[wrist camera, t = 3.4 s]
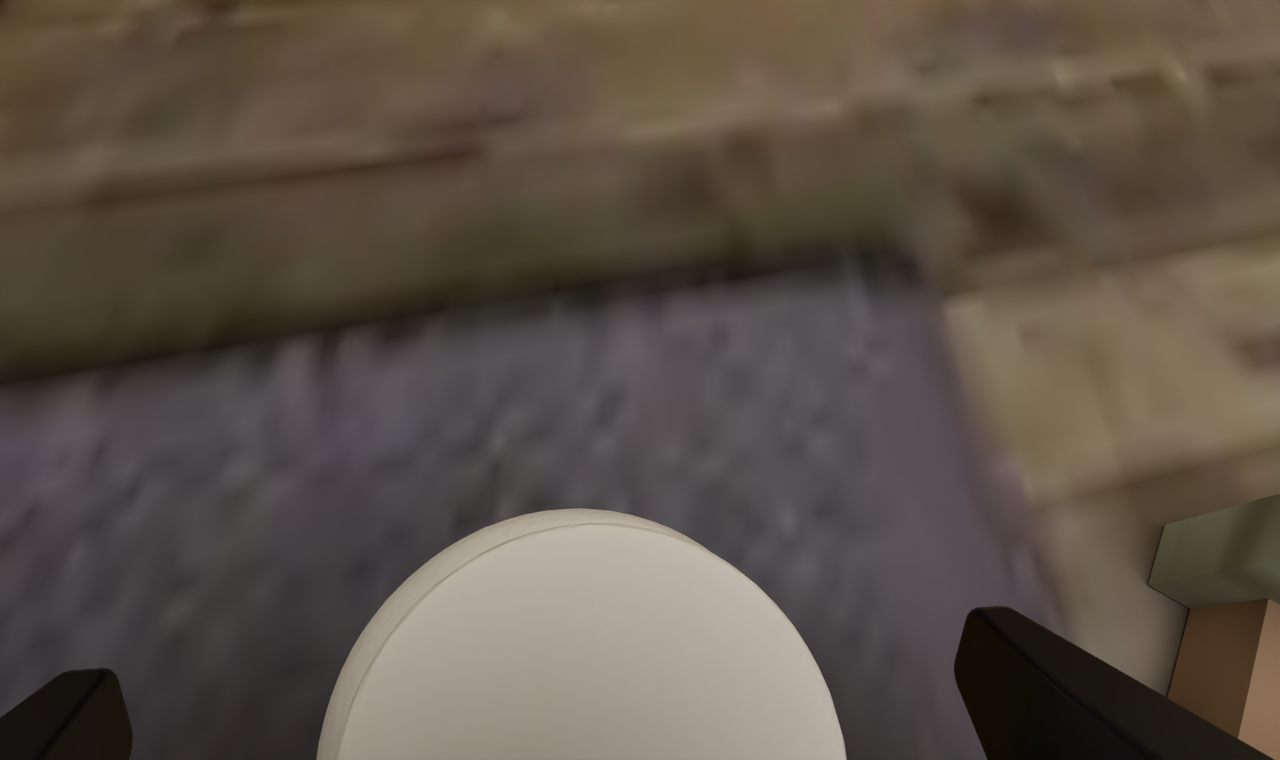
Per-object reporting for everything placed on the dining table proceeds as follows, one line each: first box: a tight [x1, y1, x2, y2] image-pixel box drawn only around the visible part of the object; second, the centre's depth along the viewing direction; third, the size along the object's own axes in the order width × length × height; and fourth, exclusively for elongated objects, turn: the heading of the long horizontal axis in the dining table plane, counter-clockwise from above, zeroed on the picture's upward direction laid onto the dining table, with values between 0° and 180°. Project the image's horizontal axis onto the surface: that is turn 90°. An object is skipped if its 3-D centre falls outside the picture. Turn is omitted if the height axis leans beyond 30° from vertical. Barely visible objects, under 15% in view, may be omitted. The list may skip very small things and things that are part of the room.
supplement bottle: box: [316, 508, 847, 760], centre depth 11 cm, size 5×5×10 cm
